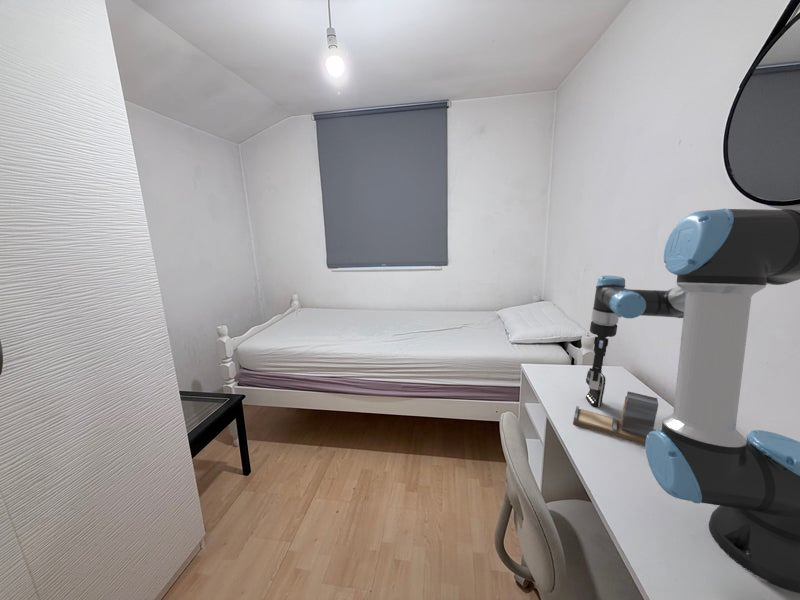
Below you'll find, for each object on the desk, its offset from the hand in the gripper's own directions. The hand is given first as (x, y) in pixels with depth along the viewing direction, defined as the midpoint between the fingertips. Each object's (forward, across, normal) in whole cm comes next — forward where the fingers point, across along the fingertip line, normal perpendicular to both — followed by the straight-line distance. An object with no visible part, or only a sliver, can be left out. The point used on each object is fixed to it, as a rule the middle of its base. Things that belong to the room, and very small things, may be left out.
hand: (594, 380), depth 112 cm
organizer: (+8, -14, -7) cm, 18 cm away
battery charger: (+8, 0, 0) cm, 8 cm away
